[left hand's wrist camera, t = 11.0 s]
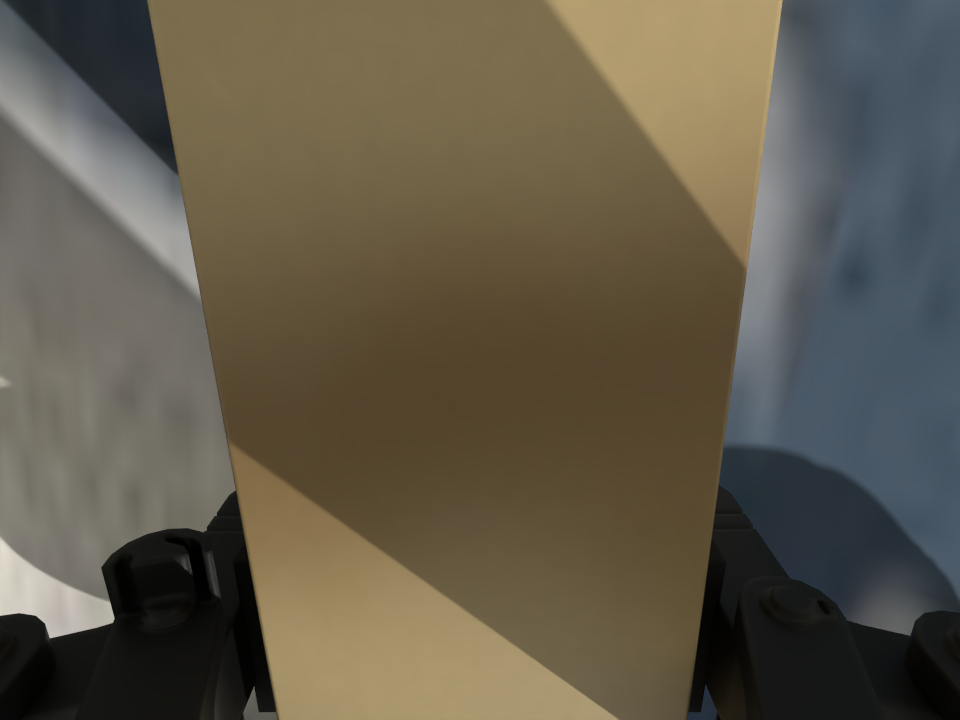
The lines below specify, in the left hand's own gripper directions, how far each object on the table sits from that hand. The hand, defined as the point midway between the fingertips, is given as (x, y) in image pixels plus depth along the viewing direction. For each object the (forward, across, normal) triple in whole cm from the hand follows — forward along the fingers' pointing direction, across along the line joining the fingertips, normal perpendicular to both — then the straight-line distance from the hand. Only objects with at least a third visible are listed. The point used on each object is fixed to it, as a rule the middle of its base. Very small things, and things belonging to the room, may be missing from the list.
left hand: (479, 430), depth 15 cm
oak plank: (0, 0, -18) cm, 18 cm away
